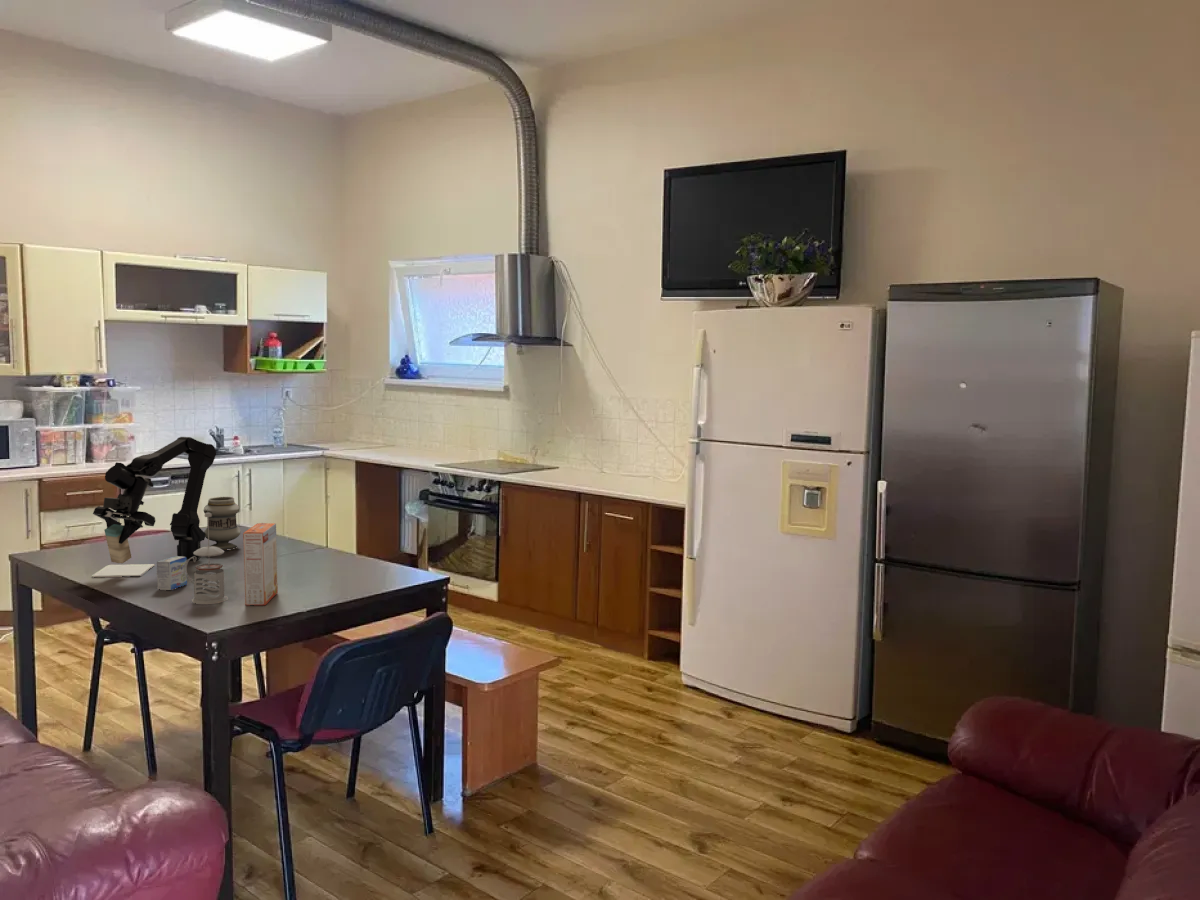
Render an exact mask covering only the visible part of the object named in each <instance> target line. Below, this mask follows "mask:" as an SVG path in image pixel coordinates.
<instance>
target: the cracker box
mask: <svg viewBox="0 0 1200 900" xmlns="http://www.w3.org/2000/svg"><path fill="white" fill-rule="evenodd" d="M242 537H243V542H242V544H243V567H244V568H243V570H244V571H243V575H244V600H245V601H244V604H245V606H246V607H247V606H250V605H254V606H266V605H267V604H268V603H269V602H271V600H272V599H273V598H274V597H275V596H276V595H277V594H278V591H279V589H278V585H279V583H278V557H277V556H278V554H277V550H278V549H277V544H278V543H277V523H274V522H273V523H271V522H270V523H268V522H266V523H265V522H261V523H260V522H259V523H256V524H254V525H252V526H251V527H250V528H248V529H247V530H245V531H244V532H243V533H242Z"/></svg>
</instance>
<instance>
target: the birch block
mask: <svg viewBox="0 0 1200 900" xmlns="http://www.w3.org/2000/svg"><path fill="white" fill-rule="evenodd" d="M123 528H124V524H123V525H122V524H121V525H117V524H113V525H112V526H110V527H108V528H107V527H106V528H104V529H103V530H104V535H105V540H106V543H107V547H108V553H109V556H110V561H111V563H116V564H124V563H125V562H127V561H129V560H130V559H131V558H132V554H131V549H130V544H129V537H128V538H127V539H126V540H125V541H124V542H123V543H122V544H120V543H119V539H120V536H121V533H122V530H123Z"/></svg>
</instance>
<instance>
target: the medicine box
mask: <svg viewBox="0 0 1200 900" xmlns="http://www.w3.org/2000/svg"><path fill="white" fill-rule="evenodd" d="M186 561H187V560H186V557H182V556H177V555H176V556H171V557H167V558H165V559H161V560H159V561H156V578H157V580H156V581H157V590H158V589H160V590H159V591H166V590H172V589H175V588H177V589H179V588H178V587H180V588H181V586H182V587H184V585H185V586H187V585H188V580H187V579H188V576H187V573H188V572H187V573H186V565H185V563H186ZM186 564H187V563H186ZM184 565H185V575H186V577H187V579H186V577H185V575H184ZM187 565H188V564H187ZM175 590H176V589H175ZM172 591H173V590H172Z"/></svg>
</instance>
